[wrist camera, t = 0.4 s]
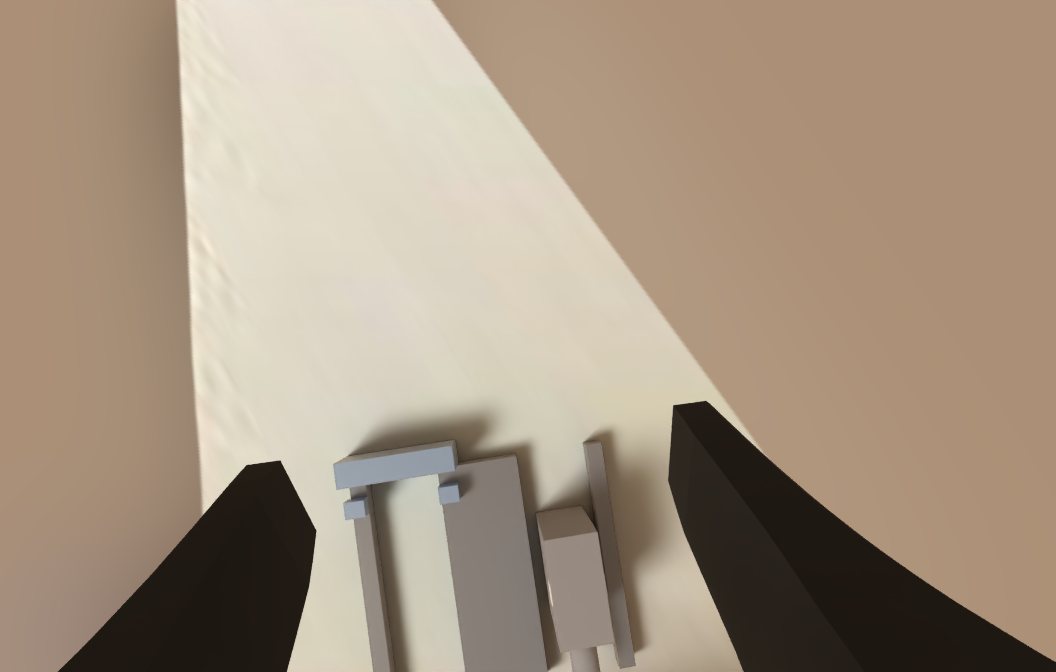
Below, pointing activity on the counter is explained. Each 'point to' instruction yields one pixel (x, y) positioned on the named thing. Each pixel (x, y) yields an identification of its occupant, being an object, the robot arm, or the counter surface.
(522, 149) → the counter surface
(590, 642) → the tall taupe box
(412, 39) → the counter surface
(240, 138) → the counter surface
